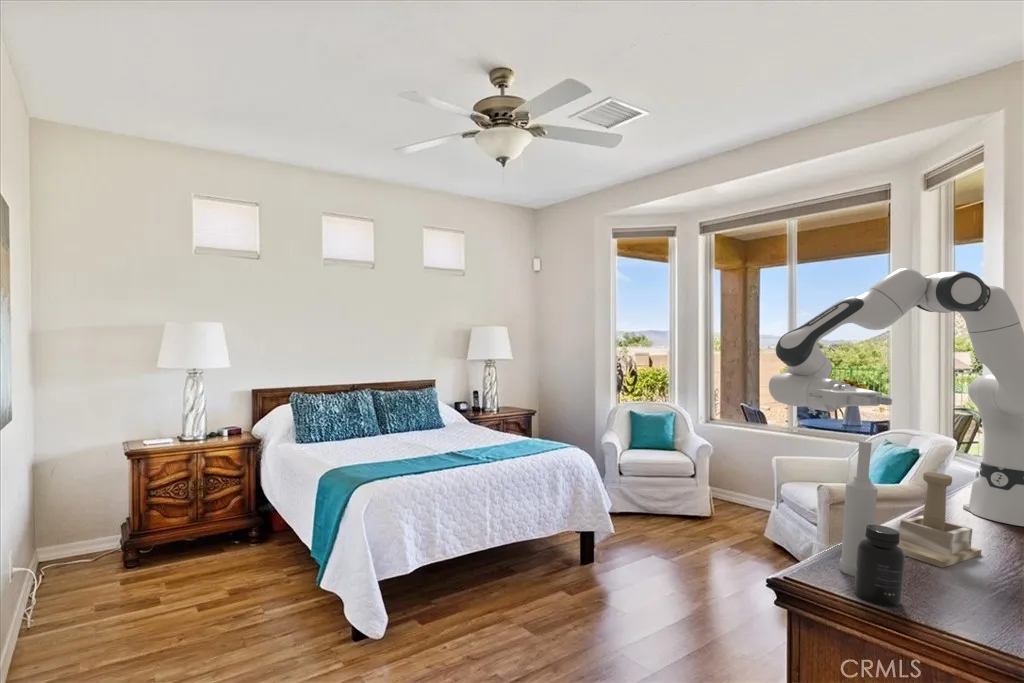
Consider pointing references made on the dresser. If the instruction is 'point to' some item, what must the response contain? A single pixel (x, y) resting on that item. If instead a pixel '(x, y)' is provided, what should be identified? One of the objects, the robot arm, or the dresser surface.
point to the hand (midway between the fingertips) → (881, 402)
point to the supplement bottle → (880, 567)
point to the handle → (935, 500)
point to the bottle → (857, 509)
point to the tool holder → (936, 542)
